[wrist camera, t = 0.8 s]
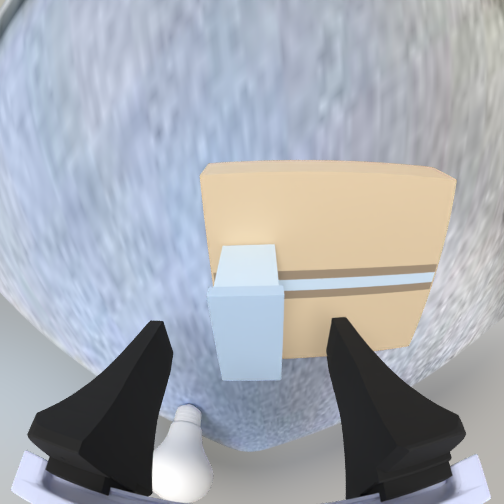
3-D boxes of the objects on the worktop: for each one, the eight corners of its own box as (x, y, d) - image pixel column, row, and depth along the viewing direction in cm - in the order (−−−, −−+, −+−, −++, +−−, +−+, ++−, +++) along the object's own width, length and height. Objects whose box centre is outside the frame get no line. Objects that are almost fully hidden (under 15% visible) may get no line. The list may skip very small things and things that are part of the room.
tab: (277, 242, 14) (284, 294, 10) (277, 323, 16) (281, 380, 13) (219, 244, 14) (206, 296, 10) (228, 323, 17) (222, 380, 13)
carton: (432, 167, 14) (456, 180, 12) (397, 322, 20) (408, 346, 18) (208, 163, 15) (199, 175, 12) (228, 332, 21) (224, 359, 18)
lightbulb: (186, 382, 24) (165, 493, 14) (232, 409, 26) (225, 509, 17) (150, 399, 26) (126, 491, 16) (193, 423, 28) (181, 509, 19)
